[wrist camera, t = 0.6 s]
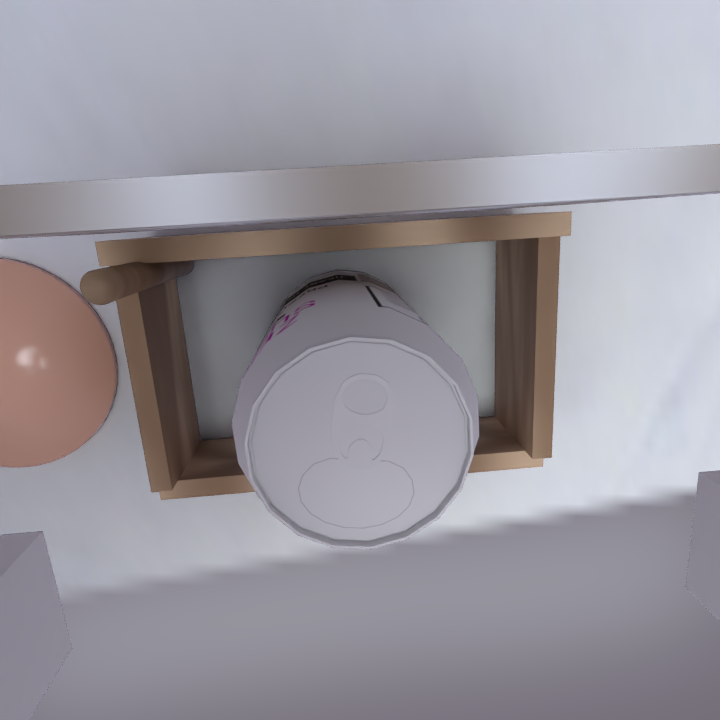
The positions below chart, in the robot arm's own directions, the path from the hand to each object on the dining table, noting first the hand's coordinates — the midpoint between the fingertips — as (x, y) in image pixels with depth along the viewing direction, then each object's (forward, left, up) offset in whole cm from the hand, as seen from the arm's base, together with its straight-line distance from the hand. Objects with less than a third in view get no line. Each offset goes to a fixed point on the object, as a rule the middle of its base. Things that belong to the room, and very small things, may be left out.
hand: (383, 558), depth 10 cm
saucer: (-19, 0, -20) cm, 28 cm away
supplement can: (0, 0, -21) cm, 21 cm away
